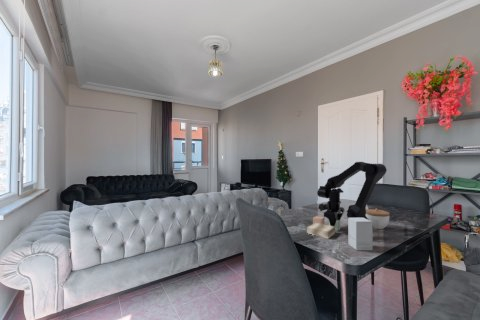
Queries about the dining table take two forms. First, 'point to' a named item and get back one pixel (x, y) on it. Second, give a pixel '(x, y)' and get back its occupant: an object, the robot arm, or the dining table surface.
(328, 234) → the birch block
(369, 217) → the lidded bowl
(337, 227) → the sage cube
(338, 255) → the dining table surface
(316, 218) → the clay cube
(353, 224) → the supplement box
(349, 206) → the robot arm
